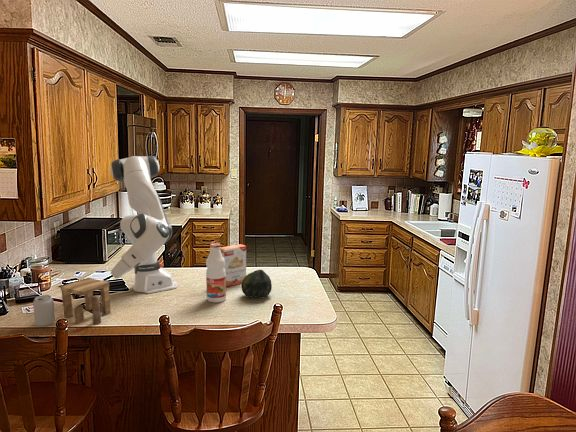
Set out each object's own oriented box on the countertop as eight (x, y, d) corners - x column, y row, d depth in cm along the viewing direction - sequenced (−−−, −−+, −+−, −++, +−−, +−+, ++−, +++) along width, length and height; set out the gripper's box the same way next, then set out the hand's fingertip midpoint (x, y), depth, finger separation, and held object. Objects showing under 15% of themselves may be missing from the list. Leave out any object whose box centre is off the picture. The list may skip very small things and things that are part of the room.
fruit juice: (229, 297, 218) (228, 243, 213) (219, 304, 210) (218, 247, 205) (213, 295, 222) (212, 241, 217) (203, 301, 214) (201, 245, 209)
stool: (111, 312, 199) (109, 282, 196) (81, 325, 185) (78, 293, 183) (90, 307, 205) (88, 277, 203) (59, 319, 192) (57, 287, 189)
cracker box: (225, 287, 233) (224, 249, 229) (219, 284, 237) (218, 247, 234) (247, 282, 242) (246, 245, 238) (240, 279, 246) (240, 243, 242)
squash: (237, 281, 226) (243, 265, 215) (265, 279, 232) (271, 263, 221) (242, 306, 218) (248, 291, 207) (270, 303, 224) (278, 288, 213)
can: (32, 324, 187) (29, 297, 184) (50, 318, 192) (47, 292, 190) (40, 329, 182) (37, 301, 180) (58, 323, 188) (56, 296, 186)
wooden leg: (97, 314, 196) (95, 289, 194) (104, 314, 197) (103, 289, 195) (92, 324, 186) (90, 298, 184) (100, 323, 187) (98, 297, 185)
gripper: (144, 243, 190) (124, 263, 193) (121, 255, 170) (99, 278, 173) (155, 253, 190) (135, 274, 193) (132, 267, 170) (110, 289, 173)
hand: (117, 276), depth 183 cm, fingers closed
